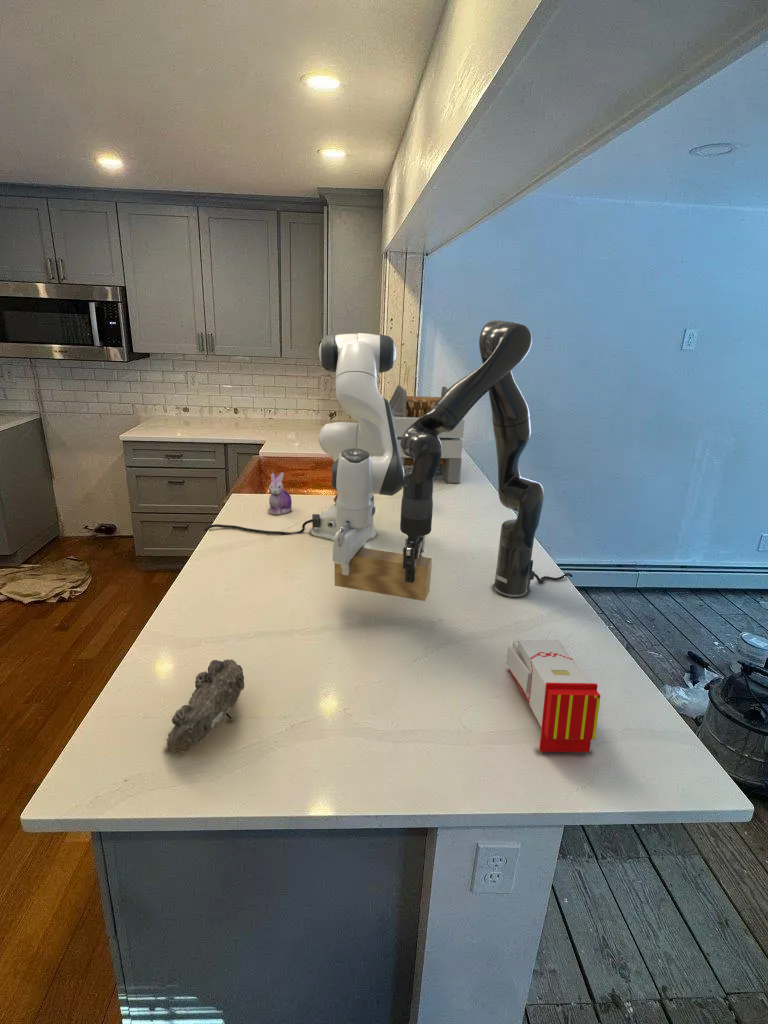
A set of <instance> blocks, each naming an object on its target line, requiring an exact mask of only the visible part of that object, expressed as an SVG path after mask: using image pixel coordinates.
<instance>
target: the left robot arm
mask: <svg viewBox="0 0 768 1024" xmlns="http://www.w3.org/2000/svg"><path fill="white" fill-rule="evenodd" d="M318 360H319V362H320V363H321V367H322V368H323V369H324V370H325V371H327V372H330V373H335V395H336V396H335V397H336V400H337V402H338V403H339V405H340V406H341V408H342V410H343V412H345V413H346V415H348V416H350V417H352V418H353V419H355V420H356V421H357V422H348V421H335V422H330V423H325V424H324V425H323V426H322V427H321V429H320V431H319V435H318V442H319V446H320V448H321V450H322V451H323V452H324V453H325V454H327V455H328V456H329V457H330V459H332V461H333V463H332V465H331V474H332V475H331V476H332V477H331V486H332V488H333V489H334V490H335V491H336V492H337V494H336V495H335V496H334V497H333V502H334V504H333V505H331V506H329V507H328V508H326V509H325V510H323V512H321V514H320V513H312V517H311V519H308V520H306V521H305V522H304V523H302V525H301V529H300V530H299V531H295V532H288V531H280V530H279V531H278V530H263V529H257V528H249V527H244V526H239V525H231V524H220V523H219V524H211V525H209V526H207V527H205V528H204V529H203V531H204V532H207V531H209V530H210V529H212V528H222V529H223V528H224V529H235V530H236V529H237V530H241V531H246V532H251V533H260V534H267V535H284V536H285V535H286V536H287V535H296V534H302V533H303V532H305V530H306V525H308V524H310V523H312V526H311V527H312V528H311V530H310V533H311V536H315V537H319V538H323V539H326V540H330V541H333V544H332V562H333V563H334V564H335V563H337V564H340V565H341V568H342V574H343V575H349V573H350V568H351V567H349V563H350V560H351V559H352V558H353V557H354V555H355V554H356V553H357V552H358V551H359V549H360V548H365V544H366V543H367V541H368V540H372V539H373V538H375V537H376V535H377V532H376V528H375V523H374V516H375V514H376V506H375V496H374V495H380V496H390V497H393V496H395V495H396V494H398V493H399V492H400V491H401V490H403V484H404V475H405V473H406V472H405V467H404V468H403V465H402V462H401V458H400V453H399V448H398V443H397V435H396V432H395V426H394V421H393V416H392V412H391V408H390V404H389V400H388V399H387V398H385V397H383V395H382V394H381V393H380V390H379V388H378V372H379V374H383V373H386V372H389V371H390V370H392V369H393V368H394V364H395V363H396V360H397V348H396V345H395V343H394V339H393V338H392V337H391V336H389V335H386V334H375V333H374V334H373V333H364V332H358V333H342V334H341V333H340V334H336V333H332V334H327V335H324V337H323V338H321V342H320V344H319V347H318Z"/></svg>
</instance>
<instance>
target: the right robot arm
mask: <svg viewBox="0 0 768 1024" xmlns="http://www.w3.org/2000/svg"><path fill="white" fill-rule="evenodd" d="M478 339H479V340H478V347H479V353H480V358H481V363H482V364H481V365H480V366H478V367H477V368H476V369H474V370H473V371H472V372H470V373H469V374H467V375H465V376H464V377H461V379H459V380H457V382H455V383H454V384H452V385H451V386H450V387H448V388H447V389H448V390H447V391H446V392H445V393H444V394H443V395H442V397H441V396H440V397H441V398H440V399H439V400H438V401H437V403H436V404H435V405H434V406H433V408H432V409H431V410H430V411H429V412H427V413H426V414H424V415H423V416H422V417H420V418H419V419H418V420H417V421H415V422H414V423H413V424H412V425H411V426H410V427H409V428H408V429H407V430H406V431H405V432H404V434H403V436H402V438H401V442H400V447H401V450H402V452H403V453H404V454H405V455H406V456H408V457H410V458H412V459H414V465H413V466H412V468H410V469H408V470H406V471H405V472H404V473H405V475H404V484H403V488H402V498H401V504H400V522H399V530H400V532H401V533H402V534H404V535H406V536H407V538H406V539H405V541H404V547H403V548H402V554H403V569H406V574H405V581H406V582H410V583H413V582H414V580H415V568H416V561H417V560H418V559H419V556H421V557H423V553H424V552H425V550H424V549H425V541H426V536H428V535H429V534H430V533H432V525H433V524H432V522H433V511H434V510H433V509H434V501H433V496H434V479H435V477H436V474H437V472H438V465H439V462H440V459H441V454H442V446H441V442H440V439H439V438H438V437H437V436H438V435H439V434H440V433H446V432H451V431H452V430H453V429H454V428H455V427H456V426H457V425H458V424H459V423H460V421H461V420H462V419H464V418H465V416H467V414H468V413H469V412H470V410H471V409H472V408H474V406H475V405H476V404H477V403H478V402H479V400H480V399H482V397H483V396H484V395H486V394H487V393H488V396H489V403H490V404H489V405H490V410H491V421H492V429H493V434H494V441H495V449H496V460H497V491H498V498H499V502H500V504H501V505H502V506H503V507H505V508H507V509H509V510H512V511H514V512H517V516H516V519H514V518H513V519H507V520H505V521H503V522H502V523H501V527H500V533H499V534H500V535H499V544H498V551H497V560H496V567H495V575H494V576H495V577H494V583H493V590H494V591H495V592H496V593H498V594H499V595H502V596H505V597H508V598H509V597H510V598H521V597H524V596H526V594H527V593H528V592H529V591H530V588H531V581H533V580H534V578H536V580H537V582H538V583H540V584H541V583H543V581H544V580H551V581H561V580H563V579H564V578H567V577H568V576H569V577H570V578H573V577H574V576H573V574H572V573H570V572H566V573H565V574H563V575H561V576H558V577H554V576H547V575H546V576H545V575H544V576H541V578H540V576H539V575H538V574H536V572H535V571H534V570H533V566H534V559H532V557H533V550H534V542H535V537H536V532H537V530H538V527H539V524H540V519H541V513H542V509H543V505H544V497H545V490H544V487H543V485H542V484H541V483H540V482H538V481H536V480H532V479H529V478H525V477H522V476H521V475H522V474H521V471H520V457H521V455H522V454H523V452H524V450H525V448H526V447H527V445H528V443H529V441H530V438H531V436H532V435H531V434H532V426H531V425H532V424H531V416H530V409H529V406H528V403H527V401H526V399H525V397H524V395H523V394H522V392H521V390H520V388H519V386H518V385H517V383H516V381H515V378H514V376H513V372H512V370H514V369H515V368H516V367H517V366H518V365H519V364H520V363H521V362H523V360H524V359H525V358H526V356H528V353H529V352H530V350H531V347H532V343H533V336H532V332H531V330H530V328H529V327H528V326H526V325H525V324H523V323H520V322H516V321H515V322H514V321H507V320H506V321H505V320H498V319H497V320H495V319H494V320H490V321H488V322H487V323H486V324H484V325H483V327H482V329H481V331H480V334H479V338H478ZM408 562H411V564H409V563H408ZM564 576H565V577H564Z"/></svg>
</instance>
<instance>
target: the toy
mask: <svg viewBox="0 0 768 1024" xmlns="http://www.w3.org/2000/svg"><path fill="white" fill-rule="evenodd" d="M505 659H506V660H505V665H506V666H507V667H508V671H509V673H510V674H511V676H512V678H513V679H514V681H515V682H516V685H517V686H518V688H519V690H520V691H521V692H522V694H523V697H525V699H526V701H527V703H529V707H530V709H531V711H532V712H533V714H534V716H535V718H536V720H537V722H538V724H539V726H540V728H541V729H540V739H539V748H538V751H539V752H540V753H543V752H544V753H590V752H591V744H592V743H591V742H592V740H596V736H597V727H598V720H599V719H598V718H599V710H600V704H601V703H600V702H601V696H602V695H601V694H600V693H599V692H598V687H599V686H598V683H595V682H594V683H592V682H591V681H590V679H589V678H588V677H587V676H586V674H585V673H584V671H583V670H582V669H581V668H580V666H579V665H578V664H577V663H576V662H575V661H576V660H574V659H573V658H572V656H571V655H570V653H568V651H567V650H566V648H565V647H564V645H563V644H562V643H561V642H560V641H559V639H529V638H528V639H524V638H521V639H517V640H512V645H511V644H510V645H509V644H508V646H507V653H506V658H505Z"/></svg>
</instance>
